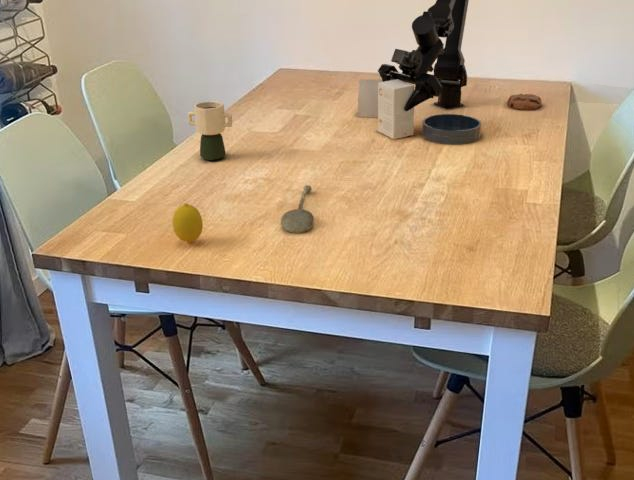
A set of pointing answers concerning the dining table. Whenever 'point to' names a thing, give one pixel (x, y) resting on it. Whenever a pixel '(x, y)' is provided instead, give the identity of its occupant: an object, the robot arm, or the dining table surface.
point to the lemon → (187, 223)
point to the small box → (395, 109)
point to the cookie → (524, 101)
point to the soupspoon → (298, 217)
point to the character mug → (210, 128)
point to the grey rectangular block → (368, 97)
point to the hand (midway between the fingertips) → (392, 106)
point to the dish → (451, 129)
